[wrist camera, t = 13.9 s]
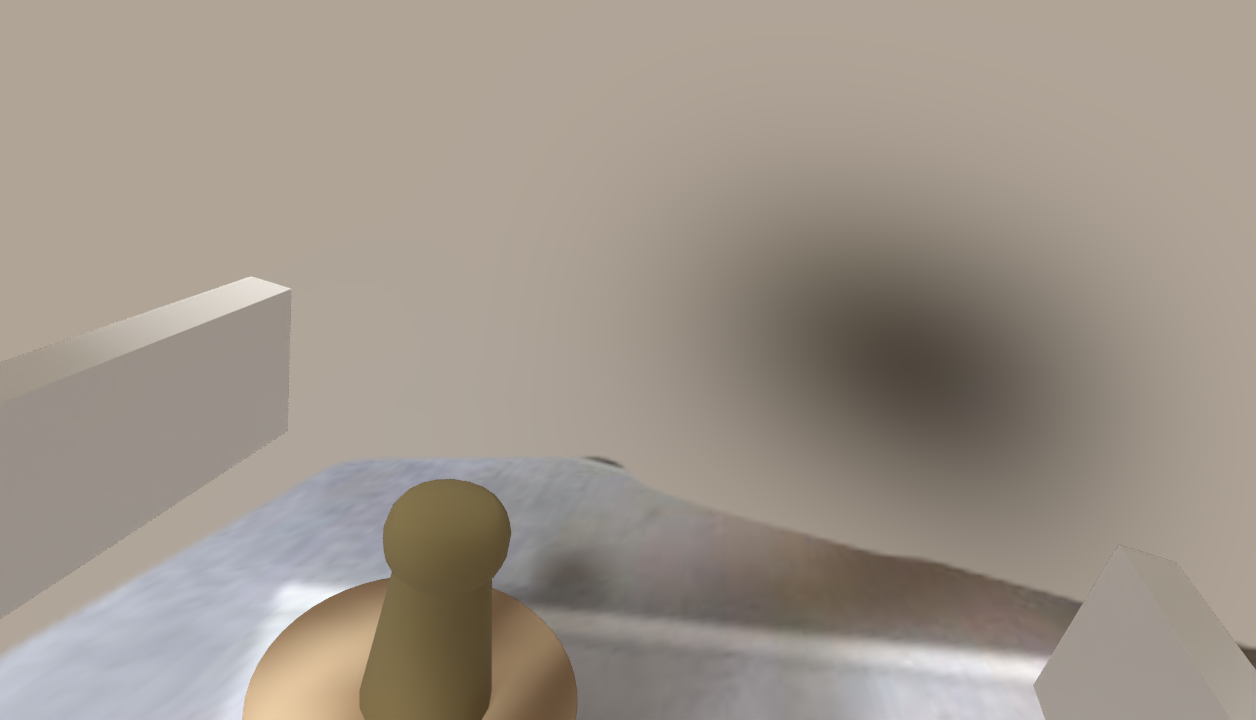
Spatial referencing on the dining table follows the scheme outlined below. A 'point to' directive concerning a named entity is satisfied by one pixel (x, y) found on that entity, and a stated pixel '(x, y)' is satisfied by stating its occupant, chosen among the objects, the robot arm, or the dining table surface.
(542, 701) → the stack of pancakes
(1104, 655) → the robot arm
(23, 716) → the dining table surface
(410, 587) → the cork
